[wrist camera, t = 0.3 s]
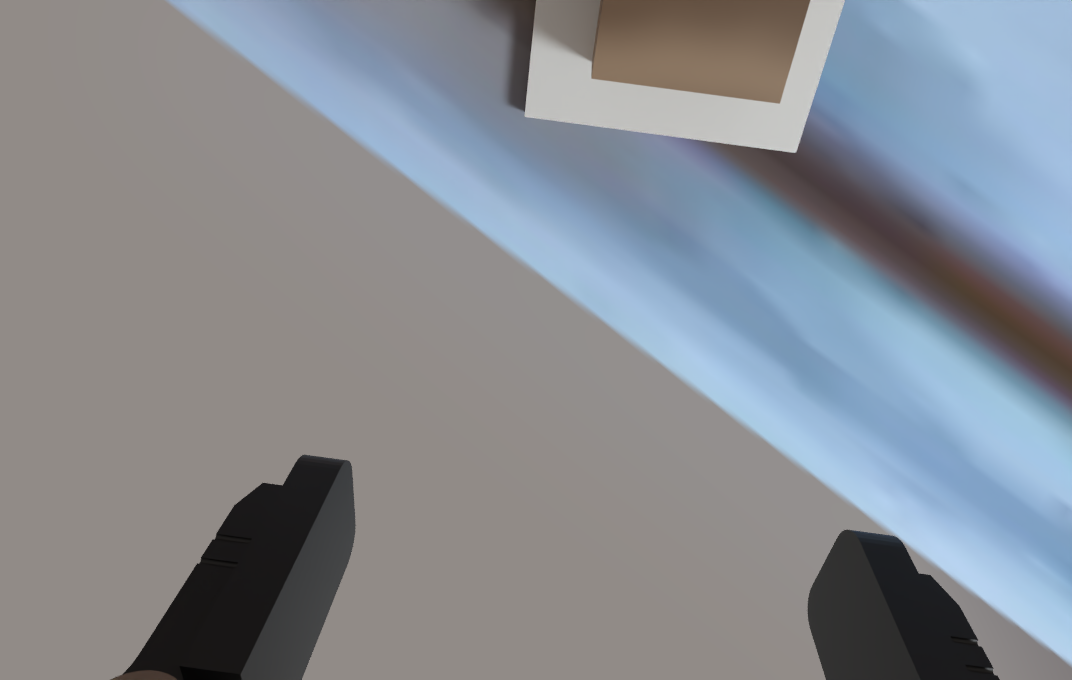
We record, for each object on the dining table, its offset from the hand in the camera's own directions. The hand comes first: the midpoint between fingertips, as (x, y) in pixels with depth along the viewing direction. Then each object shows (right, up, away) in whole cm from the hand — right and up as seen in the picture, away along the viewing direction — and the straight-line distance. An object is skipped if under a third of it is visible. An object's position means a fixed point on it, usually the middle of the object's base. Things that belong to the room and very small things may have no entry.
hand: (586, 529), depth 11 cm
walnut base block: (+6, +20, +19) cm, 28 cm away
